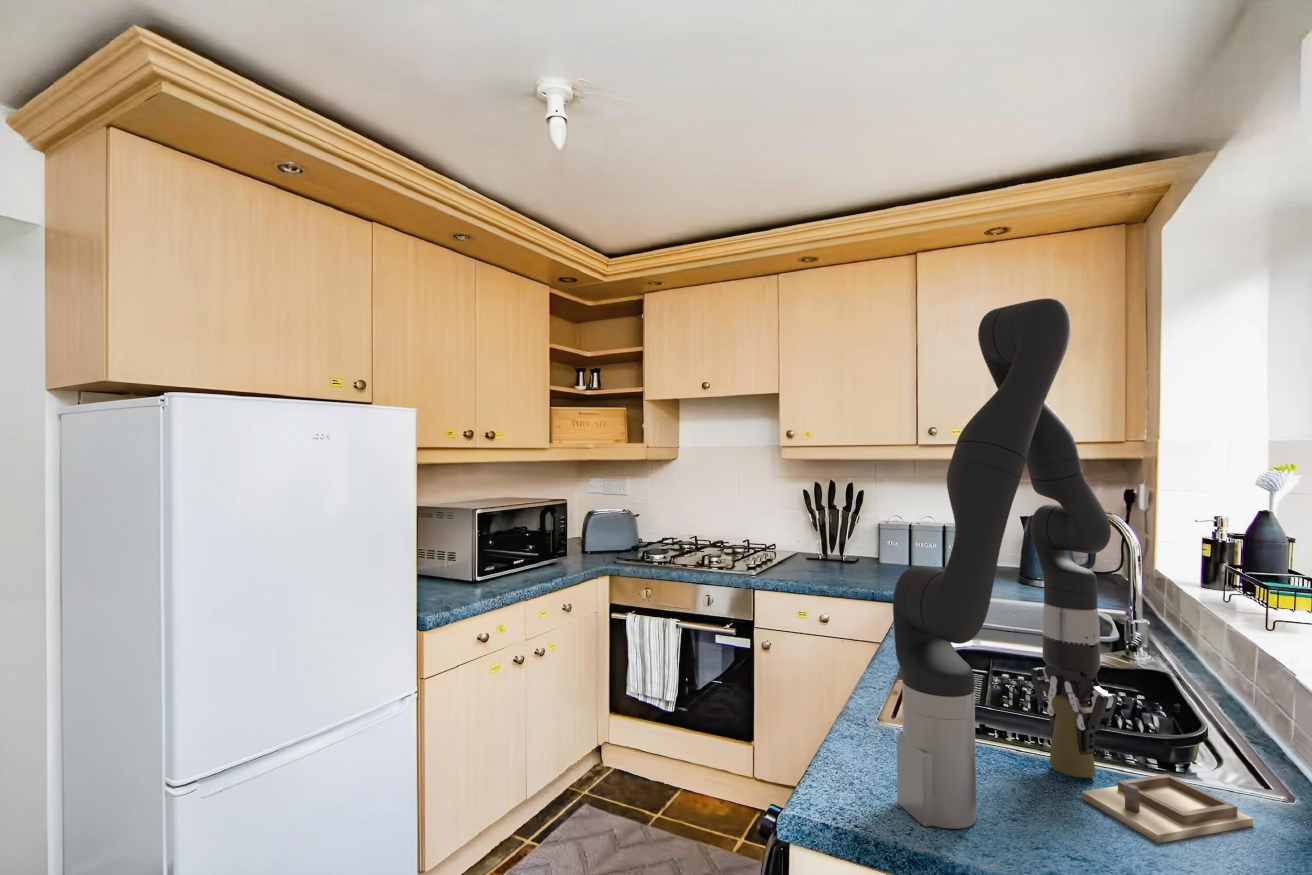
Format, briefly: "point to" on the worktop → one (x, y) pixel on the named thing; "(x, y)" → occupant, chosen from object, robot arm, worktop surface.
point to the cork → (1068, 741)
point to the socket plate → (1167, 808)
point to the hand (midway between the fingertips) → (1071, 746)
